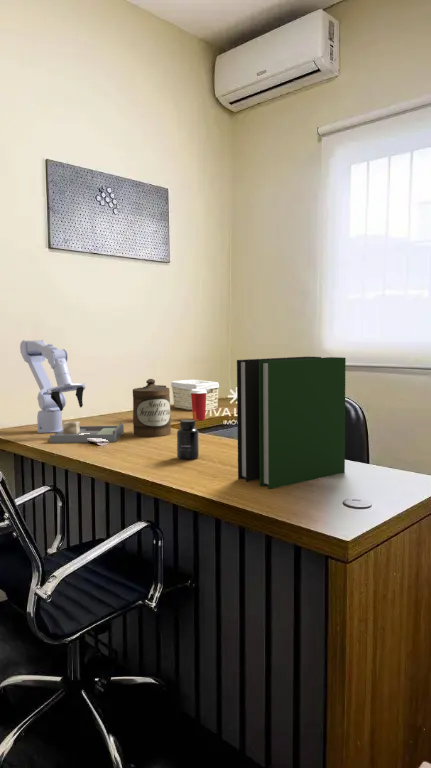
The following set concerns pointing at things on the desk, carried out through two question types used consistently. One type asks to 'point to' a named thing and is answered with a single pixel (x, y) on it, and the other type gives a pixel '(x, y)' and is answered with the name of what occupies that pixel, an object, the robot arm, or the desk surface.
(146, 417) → the wooden container
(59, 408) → the robot arm
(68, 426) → the birch block
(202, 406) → the paper cup
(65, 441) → the grey tray
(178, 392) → the storage basket
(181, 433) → the supplement bottle
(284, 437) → the upright hardcover books
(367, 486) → the desk surface
